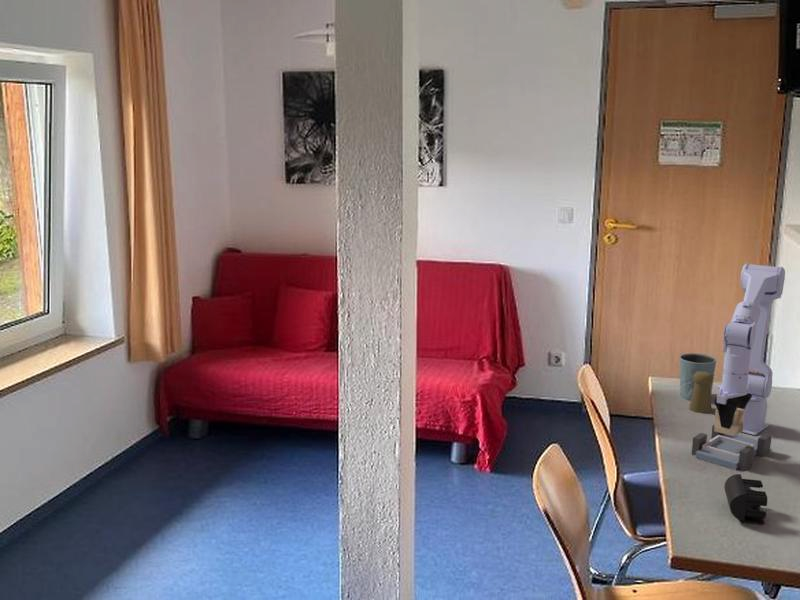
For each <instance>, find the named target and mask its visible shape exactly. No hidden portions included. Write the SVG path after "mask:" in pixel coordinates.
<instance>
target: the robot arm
mask: <svg viewBox="0 0 800 600" xmlns="http://www.w3.org/2000/svg"><path fill="white" fill-rule="evenodd" d="M785 279H786V270H785V268H784V267H783V266H772V265H771V266H770V265H763V264H762V265H759V264H753V263H751V264H750V263H748V262H747V263H745V264H744V265H743V267H742V269H741V273H740V286H741V287H742V290H743V294H744V297H743V301H740V302H739V303H737V305H736V306H735V309H734V312H733V315H732V318H731V319H730V322H729V323H726V324H725V327H724V330H723V336H722V338H723V342H722V343H723V353H724V356H723V358H724V359H723V368H722V378H721V384H717V385H716V390H719V393H718V394H717V395H716V397H715V398H714V399H713V403H714V404H715V407H716V409H717V410H718V413H719V418H720V424H721V427H724V428H727V429H730V428H731V425H732V422H733V417H734V414H735V411H736V409H737V408H741V409H744V421H743V431H741V432H740V433H744V434H749V435H751V436H757V434H759V433H761V432H762V431H764V430H765V429H766V428H768V427H769V423H766V420H767V419H766V417H767V411H768V409H767V408H768V401H767V399H768V398H770V396H771V392H772V385H773V370H772V368H771V367H770V366H769V365H768V364H767V363H766V362H764V356H765V348H766V343H767V335H768V327H769V321H770V317H771V316H770V314H771V309H772V305H773V303H774V300H779V299H781V297H782V295H783V290H784V285H785V281H786V280H785ZM750 371H751V372H750Z"/></svg>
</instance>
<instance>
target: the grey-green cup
mask: <svg viewBox="0 0 800 600" xmlns="http://www.w3.org/2000/svg"><path fill="white" fill-rule="evenodd" d="M716 364H717V358H716V357H714V356H711V355H710V354H709V355H708V354H704V353H696V352H695V353H692V352H689V353H684V354H681V355H680V356H679V383H680V384H679V385H680V388H679V390H680V391H679V392H680V393H679V395H680V397H681V398H682V399H685V400H686V401H689V402H691V398H692V394H693V390H694V386H695V382H694V379H693V378H694V374H695V373H696V372H699V371H705V372H709V373H711V374H712V376H713V380H714V378H715V377H714V376H715V369H716ZM713 386H714V381H713V382H712V383H711V385H710V389H711V394H712V392H713V391H712V390H713Z"/></svg>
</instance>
